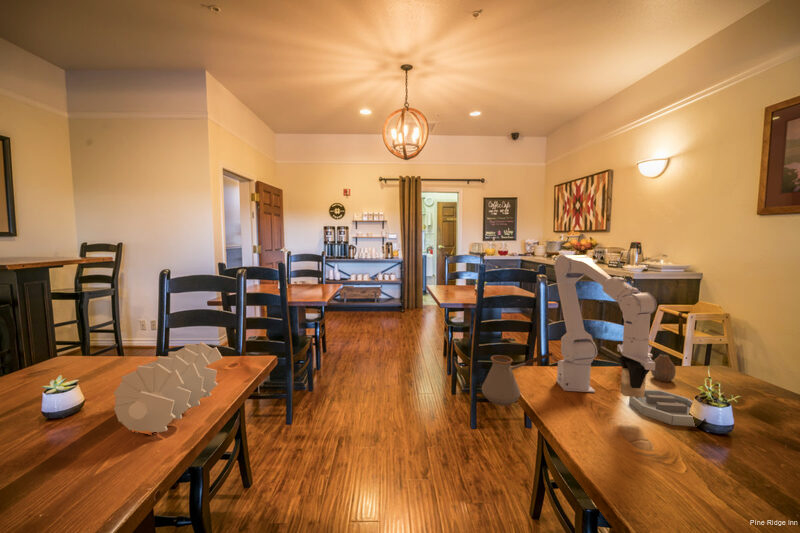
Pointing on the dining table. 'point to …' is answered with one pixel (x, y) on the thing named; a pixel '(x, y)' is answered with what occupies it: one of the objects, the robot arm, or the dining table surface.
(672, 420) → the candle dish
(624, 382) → the pine wood chunk
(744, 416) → the dining table surface
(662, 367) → the vase
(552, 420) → the dining table surface
